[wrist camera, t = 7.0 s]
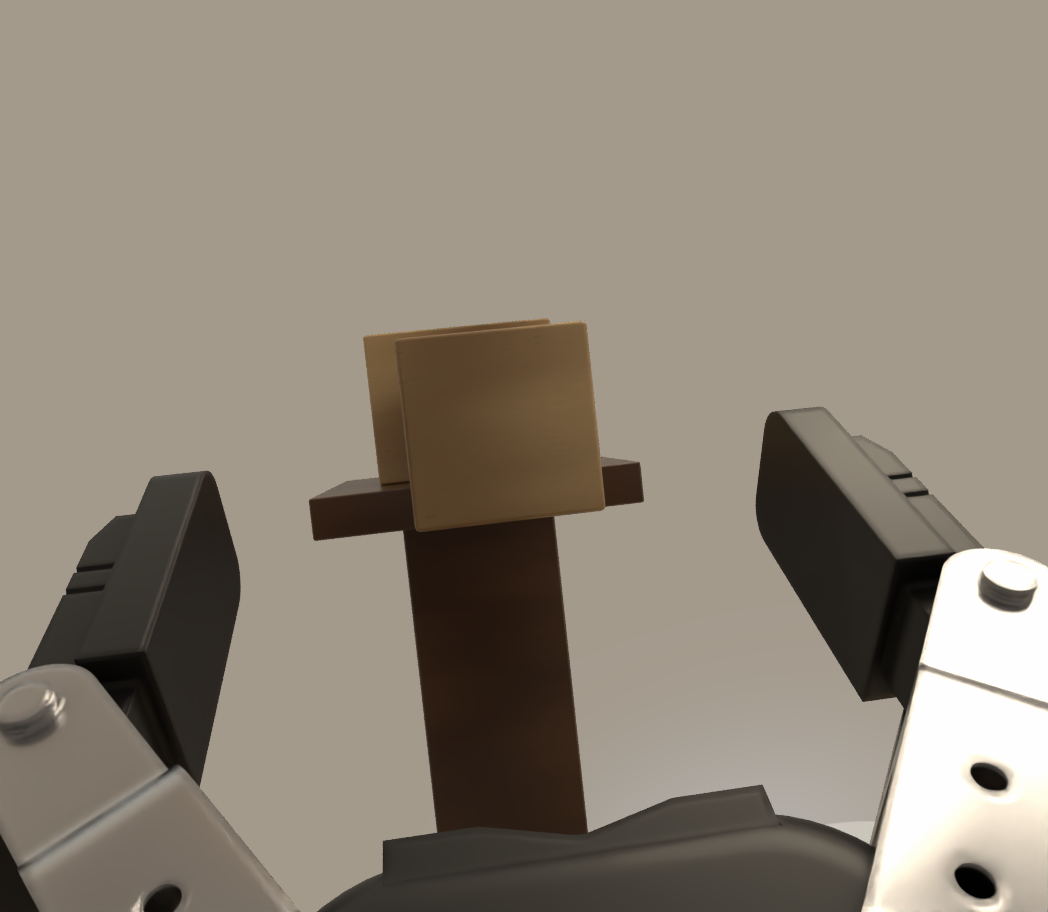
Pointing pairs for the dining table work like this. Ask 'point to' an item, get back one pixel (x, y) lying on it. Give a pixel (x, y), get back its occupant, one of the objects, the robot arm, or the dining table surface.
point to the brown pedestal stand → (487, 654)
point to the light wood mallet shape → (487, 421)
